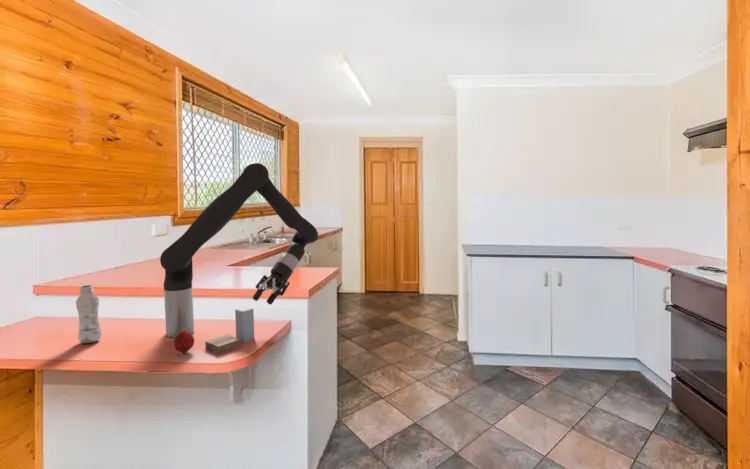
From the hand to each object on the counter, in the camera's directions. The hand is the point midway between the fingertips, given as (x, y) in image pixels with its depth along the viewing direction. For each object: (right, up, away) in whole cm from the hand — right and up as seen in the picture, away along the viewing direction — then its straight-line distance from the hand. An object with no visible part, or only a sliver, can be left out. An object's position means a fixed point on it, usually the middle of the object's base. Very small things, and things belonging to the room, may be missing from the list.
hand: (261, 301), depth 134 cm
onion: (-20, -14, -17) cm, 29 cm away
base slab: (-9, -14, -13) cm, 20 cm away
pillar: (-4, -13, -5) cm, 14 cm away
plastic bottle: (-58, -13, -7) cm, 60 cm away
